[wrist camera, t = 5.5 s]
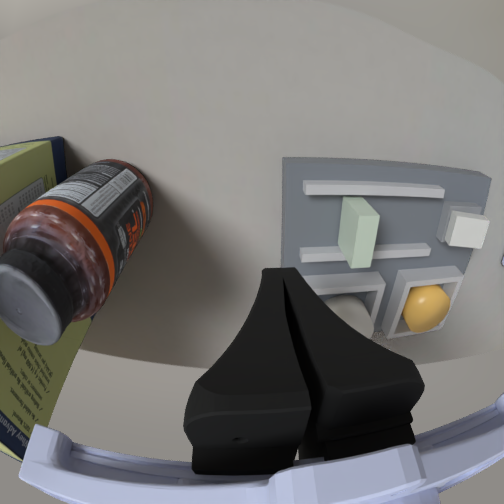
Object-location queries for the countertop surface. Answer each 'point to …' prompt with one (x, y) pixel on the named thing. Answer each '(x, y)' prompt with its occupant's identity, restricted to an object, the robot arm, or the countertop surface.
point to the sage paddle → (357, 231)
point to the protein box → (3, 338)
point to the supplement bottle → (71, 249)
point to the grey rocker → (466, 230)
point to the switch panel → (388, 234)
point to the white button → (352, 313)
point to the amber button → (425, 307)
